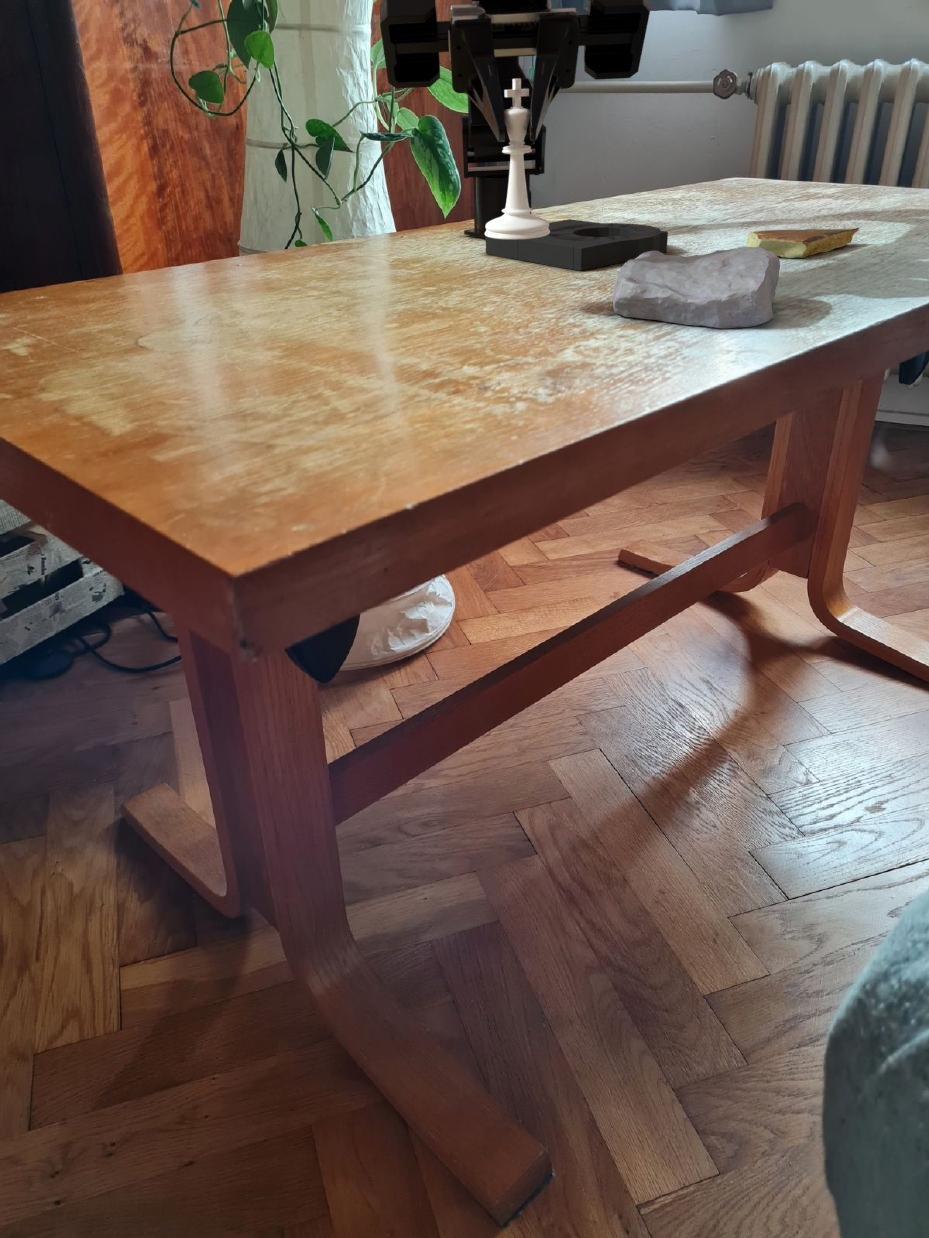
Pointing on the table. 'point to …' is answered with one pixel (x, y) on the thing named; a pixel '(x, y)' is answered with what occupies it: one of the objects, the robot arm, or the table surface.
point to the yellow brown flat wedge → (800, 241)
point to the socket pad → (582, 244)
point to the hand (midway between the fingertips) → (517, 136)
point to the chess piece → (517, 178)
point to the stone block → (700, 287)
